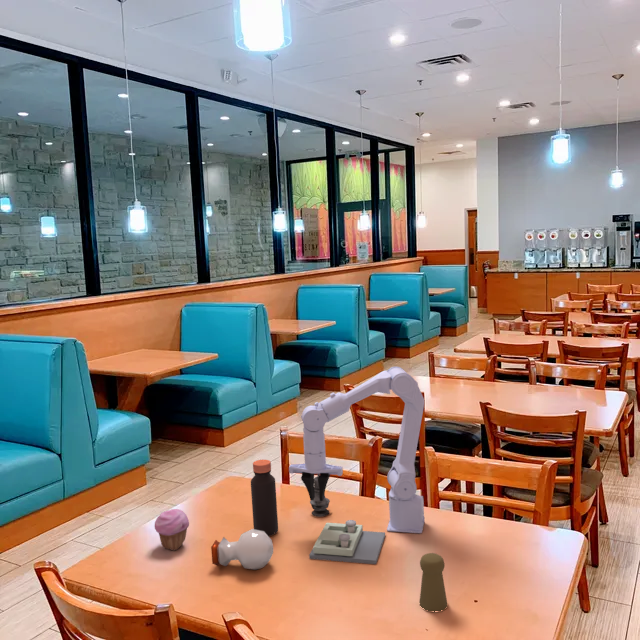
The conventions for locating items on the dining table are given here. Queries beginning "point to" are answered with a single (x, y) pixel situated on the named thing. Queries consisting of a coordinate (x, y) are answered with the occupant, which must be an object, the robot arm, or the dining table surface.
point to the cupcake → (172, 528)
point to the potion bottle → (244, 550)
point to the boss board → (357, 547)
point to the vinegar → (264, 498)
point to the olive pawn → (432, 583)
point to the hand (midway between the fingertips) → (317, 499)
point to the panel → (336, 540)
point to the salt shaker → (319, 502)
